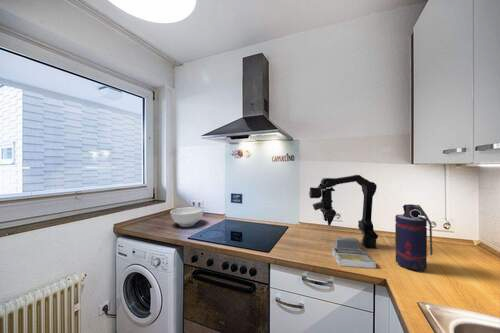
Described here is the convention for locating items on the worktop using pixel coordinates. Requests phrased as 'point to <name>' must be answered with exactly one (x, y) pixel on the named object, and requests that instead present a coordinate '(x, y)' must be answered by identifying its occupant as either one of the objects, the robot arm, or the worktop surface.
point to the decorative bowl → (187, 215)
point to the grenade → (412, 238)
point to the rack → (353, 257)
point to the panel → (346, 243)
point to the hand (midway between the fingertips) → (327, 223)
